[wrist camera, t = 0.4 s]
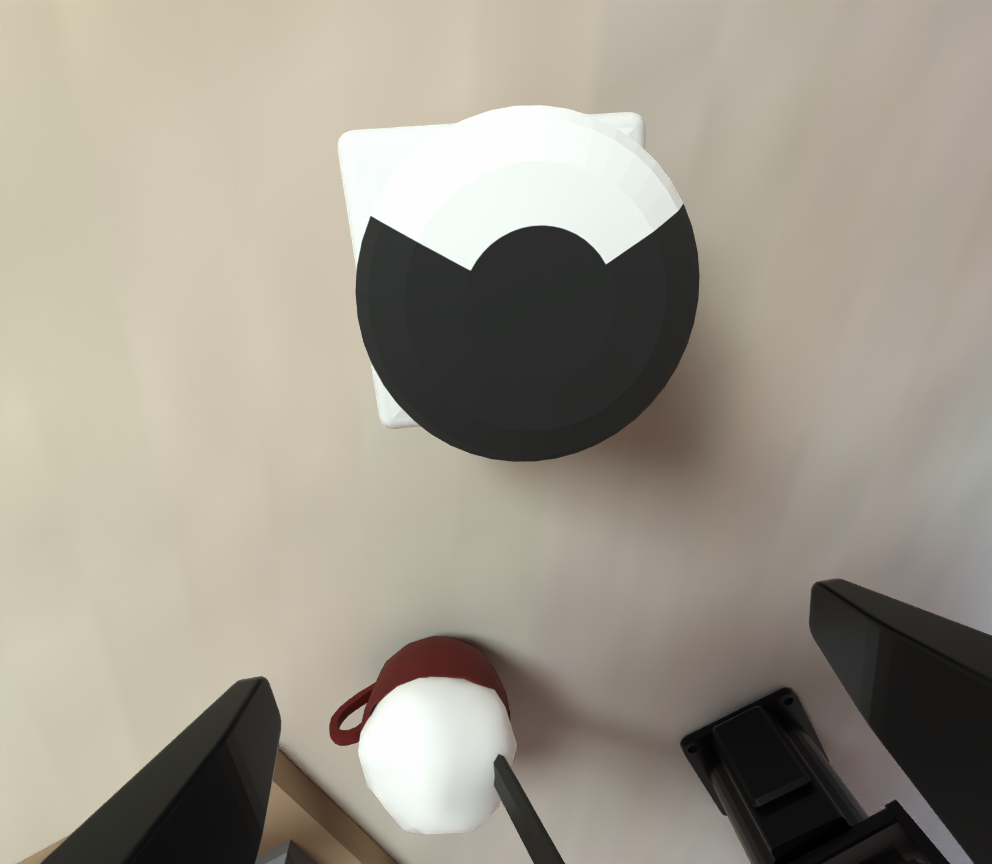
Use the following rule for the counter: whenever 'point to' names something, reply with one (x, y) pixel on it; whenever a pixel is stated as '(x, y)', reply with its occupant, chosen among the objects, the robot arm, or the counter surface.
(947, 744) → the robot arm
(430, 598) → the counter surface
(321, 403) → the counter surface
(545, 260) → the medicine bottle
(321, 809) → the tray stand
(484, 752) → the cocoa
